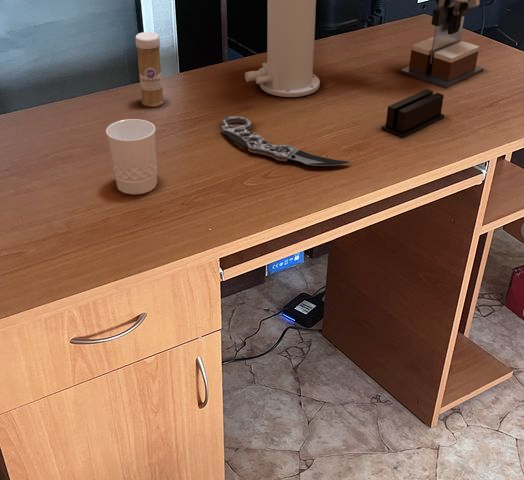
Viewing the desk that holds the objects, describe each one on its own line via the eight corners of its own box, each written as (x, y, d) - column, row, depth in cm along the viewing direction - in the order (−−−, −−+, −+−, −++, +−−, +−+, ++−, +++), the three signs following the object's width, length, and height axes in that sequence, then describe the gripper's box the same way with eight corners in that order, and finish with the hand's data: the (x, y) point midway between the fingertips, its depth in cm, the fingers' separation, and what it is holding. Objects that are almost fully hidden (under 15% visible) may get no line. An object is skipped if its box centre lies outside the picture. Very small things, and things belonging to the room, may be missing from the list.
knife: (352, 158, 137) (314, 174, 132) (351, 166, 138) (314, 183, 133) (240, 111, 153) (201, 124, 147) (240, 119, 154) (201, 132, 148)
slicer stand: (402, 138, 147) (405, 114, 144) (381, 129, 149) (383, 106, 146) (444, 117, 154) (447, 95, 151) (422, 109, 156) (426, 87, 153)
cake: (445, 88, 165) (449, 61, 161) (399, 72, 171) (403, 46, 167) (483, 70, 172) (488, 44, 168) (438, 56, 179) (442, 31, 175)
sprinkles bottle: (145, 109, 156) (138, 40, 147) (139, 100, 159) (132, 32, 150) (167, 105, 157) (162, 37, 148) (160, 97, 160) (155, 29, 152)
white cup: (140, 201, 128) (134, 144, 122) (103, 188, 132) (95, 132, 125) (169, 181, 134) (165, 126, 127) (133, 169, 137) (127, 114, 130)
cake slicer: (432, 65, 166) (439, 11, 159) (426, 63, 167) (433, 9, 160) (462, 52, 172) (471, -1, 165) (456, 50, 173) (464, -3, 166)
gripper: (418, -69, 156) (407, 26, 168) (486, -54, 148) (469, 45, 160) (441, -75, 160) (428, 18, 172) (508, -61, 152) (490, 36, 164)
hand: (448, 30), depth 166 cm, fingers closed on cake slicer, 1 cm apart
